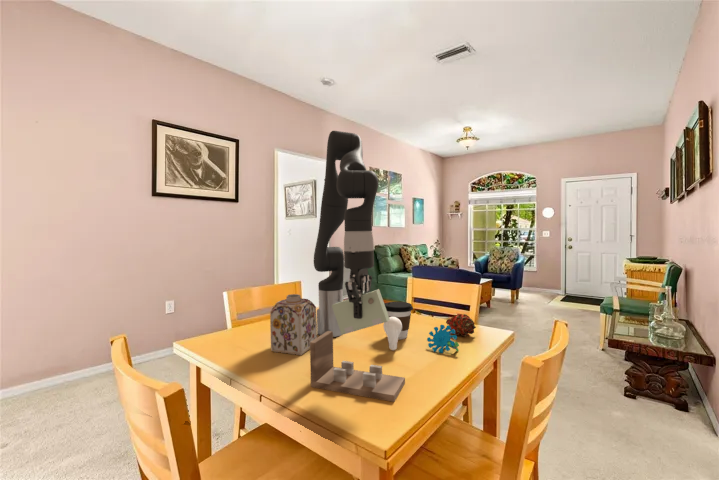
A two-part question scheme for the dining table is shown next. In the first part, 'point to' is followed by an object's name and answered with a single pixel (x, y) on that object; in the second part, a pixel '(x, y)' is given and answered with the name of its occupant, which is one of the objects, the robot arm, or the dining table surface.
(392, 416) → the dining table surface
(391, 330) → the lightbulb
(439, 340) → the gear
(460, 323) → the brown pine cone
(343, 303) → the door
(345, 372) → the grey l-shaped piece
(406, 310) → the coffee cup
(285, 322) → the decorative jar
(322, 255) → the robot arm
